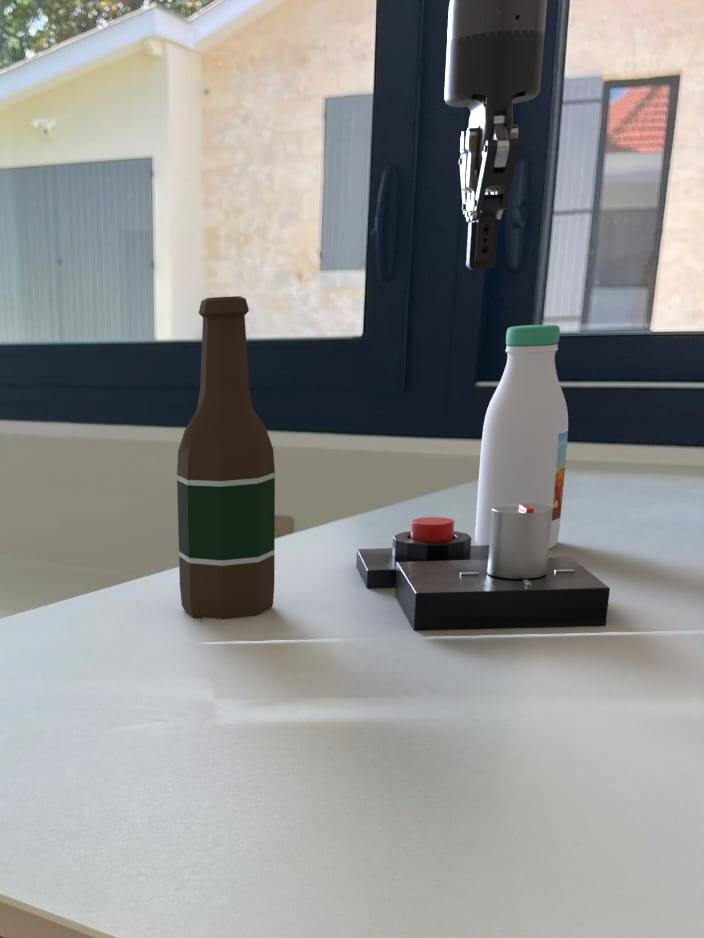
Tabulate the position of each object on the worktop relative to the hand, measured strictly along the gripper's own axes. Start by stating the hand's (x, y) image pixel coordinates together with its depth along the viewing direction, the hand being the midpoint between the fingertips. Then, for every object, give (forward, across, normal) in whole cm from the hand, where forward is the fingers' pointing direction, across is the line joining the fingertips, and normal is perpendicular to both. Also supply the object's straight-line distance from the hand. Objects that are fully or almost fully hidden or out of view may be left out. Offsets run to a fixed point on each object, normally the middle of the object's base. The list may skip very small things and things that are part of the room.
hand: (480, 268), depth 105 cm
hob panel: (+25, -20, +1) cm, 32 cm away
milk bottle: (+25, +5, -6) cm, 26 cm away
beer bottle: (+25, -17, +22) cm, 38 cm away
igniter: (+25, -7, +4) cm, 26 cm away
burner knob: (+22, -20, -1) cm, 30 cm away
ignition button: (+22, -7, +4) cm, 23 cm away
